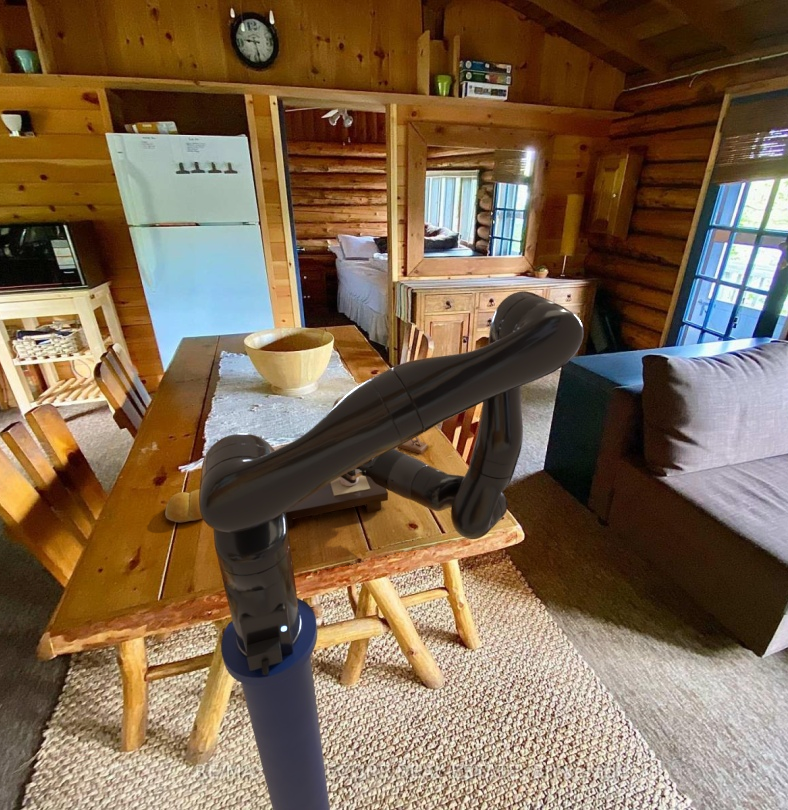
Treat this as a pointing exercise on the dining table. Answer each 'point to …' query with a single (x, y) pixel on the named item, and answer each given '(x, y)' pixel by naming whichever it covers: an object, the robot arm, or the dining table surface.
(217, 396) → the dining table surface
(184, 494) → the bread roll
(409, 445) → the gingerbread man figurine
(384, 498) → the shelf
